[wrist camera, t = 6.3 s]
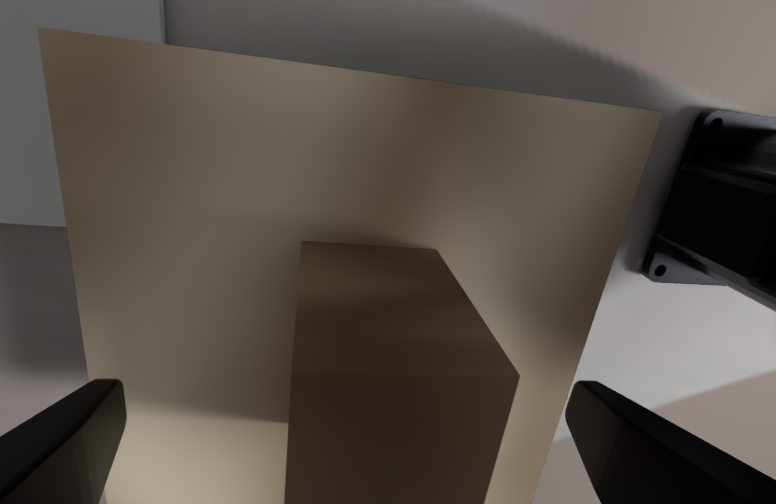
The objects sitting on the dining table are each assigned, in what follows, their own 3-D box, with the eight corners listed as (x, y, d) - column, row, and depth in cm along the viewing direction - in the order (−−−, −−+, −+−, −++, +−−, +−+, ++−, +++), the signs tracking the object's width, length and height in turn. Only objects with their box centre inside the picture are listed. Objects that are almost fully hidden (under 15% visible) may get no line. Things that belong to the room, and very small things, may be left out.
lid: (633, 107, 11) (923, 145, 6) (516, 481, 15) (618, 691, 10) (67, 30, 8) (-311, -22, 3) (125, 496, 13) (1, 778, 8)
